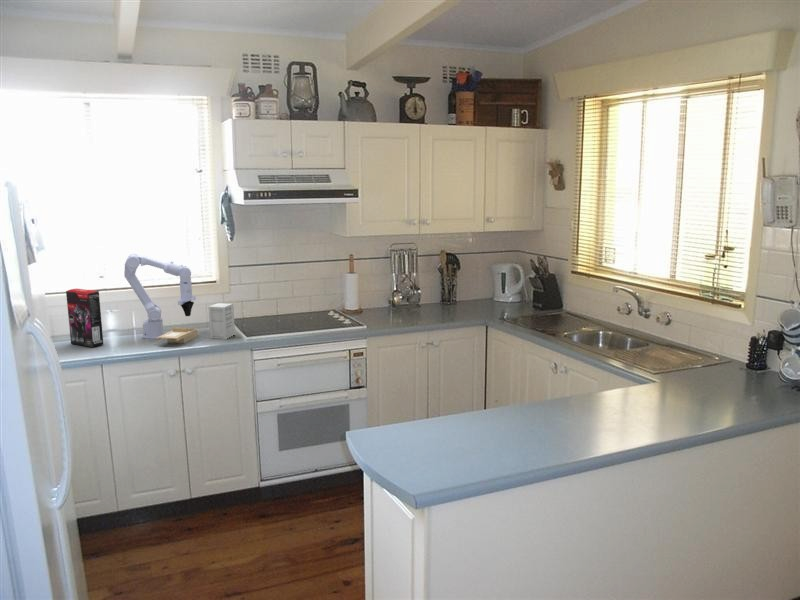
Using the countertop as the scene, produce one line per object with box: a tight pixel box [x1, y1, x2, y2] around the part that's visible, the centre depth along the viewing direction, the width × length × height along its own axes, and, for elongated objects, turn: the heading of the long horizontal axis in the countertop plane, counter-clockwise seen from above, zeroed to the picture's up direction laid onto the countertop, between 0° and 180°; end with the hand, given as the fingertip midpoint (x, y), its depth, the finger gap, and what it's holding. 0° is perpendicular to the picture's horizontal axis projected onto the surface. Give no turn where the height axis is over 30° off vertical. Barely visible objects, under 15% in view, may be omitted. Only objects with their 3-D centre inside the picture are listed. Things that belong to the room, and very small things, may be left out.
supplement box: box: [208, 302, 236, 340], centre depth 341 cm, size 10×9×17 cm
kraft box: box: [167, 328, 199, 343], centre depth 336 cm, size 9×14×4 cm, turn 169°
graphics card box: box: [65, 288, 104, 348], centre depth 327 cm, size 17×7×27 cm, turn 62°
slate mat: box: [153, 334, 210, 347], centre depth 335 cm, size 19×22×1 cm
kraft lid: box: [156, 327, 191, 341], centre depth 328 cm, size 10×14×3 cm
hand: (187, 316), depth 346 cm, fingers closed
